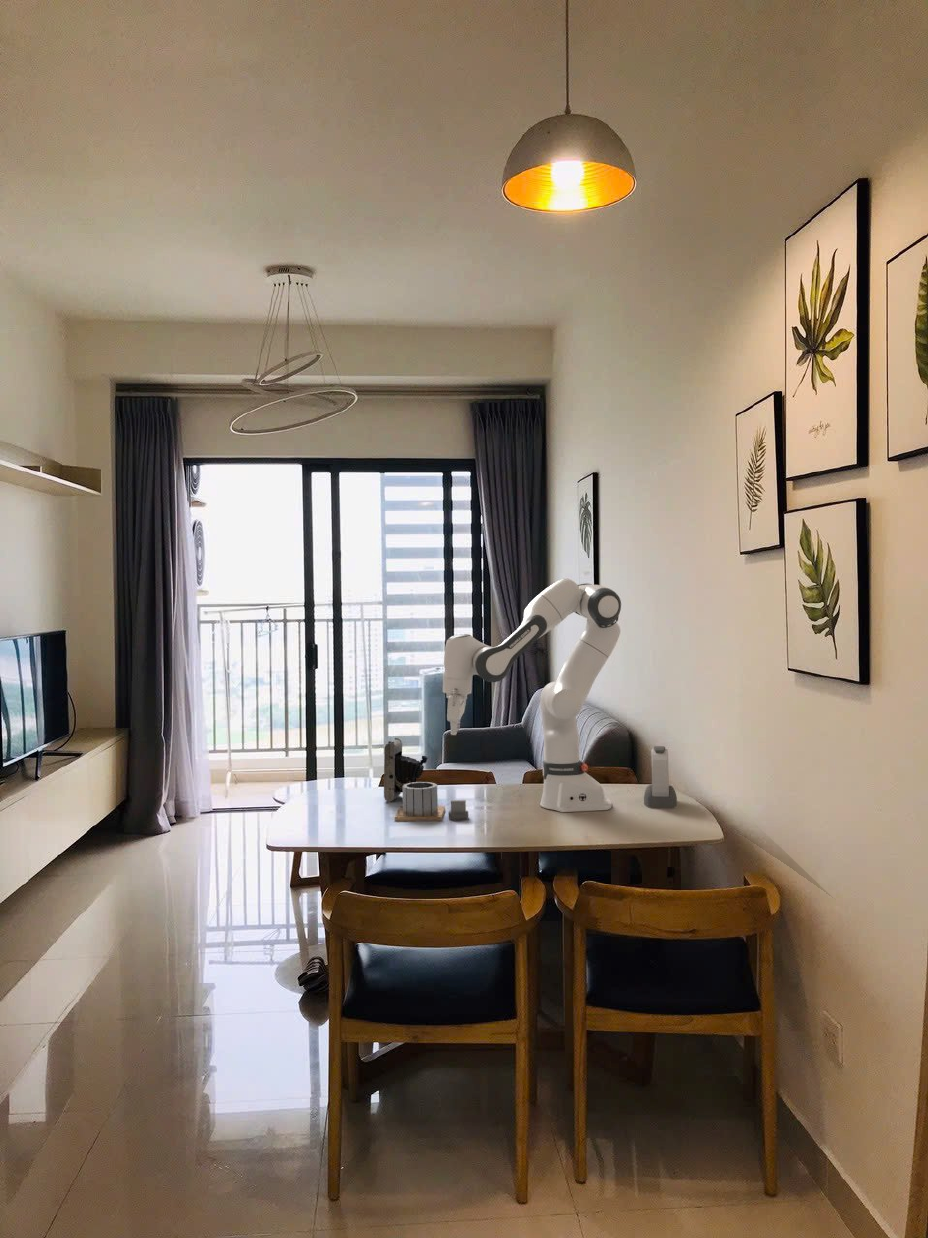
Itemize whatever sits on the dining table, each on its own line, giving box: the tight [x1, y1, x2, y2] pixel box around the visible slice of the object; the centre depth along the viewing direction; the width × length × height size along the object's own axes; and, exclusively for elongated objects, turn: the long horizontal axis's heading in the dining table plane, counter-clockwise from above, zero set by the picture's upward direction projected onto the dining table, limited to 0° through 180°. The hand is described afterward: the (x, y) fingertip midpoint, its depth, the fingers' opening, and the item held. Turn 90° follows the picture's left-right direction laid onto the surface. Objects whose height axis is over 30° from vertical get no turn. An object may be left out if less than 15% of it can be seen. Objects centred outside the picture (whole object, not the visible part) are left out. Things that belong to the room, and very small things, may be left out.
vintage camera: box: [383, 737, 429, 803], centre depth 294 cm, size 10×15×20 cm, turn 78°
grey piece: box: [643, 745, 678, 809], centre depth 281 cm, size 16×10×18 cm, turn 168°
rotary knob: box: [448, 799, 469, 822], centre depth 267 cm, size 6×6×6 cm
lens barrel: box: [394, 781, 446, 822], centre depth 272 cm, size 14×14×9 cm
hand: (455, 732), depth 271 cm, fingers open, 8 cm apart
